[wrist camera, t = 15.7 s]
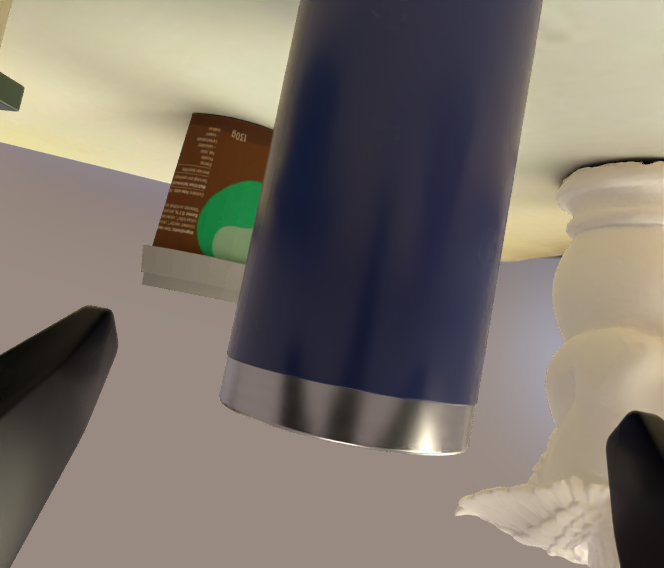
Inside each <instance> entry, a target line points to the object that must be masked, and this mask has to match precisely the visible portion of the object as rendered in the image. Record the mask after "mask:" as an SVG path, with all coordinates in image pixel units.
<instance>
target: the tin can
mask: <svg viewBox="0 0 664 568" xmlns="http://www.w3.org/2000/svg"><path fill="white" fill-rule="evenodd" d="M542 2H543V0H300V5H299V10H298V15H297V19H296V24H295V29H294V34H293V39H292V43H291V48H290V53H289V58H288V63H287V68H286V72H285V77H284V82H283V87H282V92H281V96H280V101H279V106H278V111H277V116H276V120H275V125H274V130H273V135H272V140H271V144H270V149H269V154H268V159H267V164H266V168H265V173H264V178H263V183H262V188H261V193H260V197H259V202H258V207H257V212H256V217H255V221H254V226H253V231H252V236H251V241H250V245H249V250H248V255H247V260H246V265H245V269H244V274H243V279H242V284H241V289H240V294H239V298H238V303H237V308H236V313H235V318H234V323H233V327H232V332H231V337H230V342H229V347H228V351H227V355H228V357H227V362H226V367H225V372H224V376H223V381H222V386H221V391H220V401H221V402H222V403H223V404H224V405H225V406H226V407H228V408H229V409H231V410H233V411H235V412H237V413H239V414H241V415H243V416H245V417H248V418H250V419H253V420H255V421H258V422H261V423H264V424H267V425H270V426H273V427H276V428H279V429H283V430H286V431H289V432H293V433H297V434H301V435H305V436H309V437H312V438H317V439H321V440H326V441H330V442H335V443H340V444H344V445H350V446H356V447H361V448H366V449H373V450H380V451H386V452H395V453H403V454H414V455H433V456H434V455H436V456H437V455H452V454H458V453H462V452H464V451H466V450H467V448H468V446H469V441H470V434H471V428H472V422H473V416H474V410H475V405H476V403H477V400H478V394H479V387H480V381H481V375H482V369H483V363H484V357H485V351H486V345H487V338H488V333H489V326H490V320H491V314H492V307H493V302H494V295H495V289H496V283H497V277H498V271H499V265H500V259H501V253H502V247H503V241H504V235H505V229H506V223H507V216H508V210H509V204H510V198H511V192H512V186H513V180H514V174H515V168H516V161H517V155H518V149H519V143H520V137H521V131H522V125H523V119H524V113H525V106H526V100H527V94H528V88H529V82H530V76H531V70H532V64H533V58H534V51H535V45H536V39H537V33H538V27H539V21H540V15H541V9H542Z"/></svg>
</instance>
